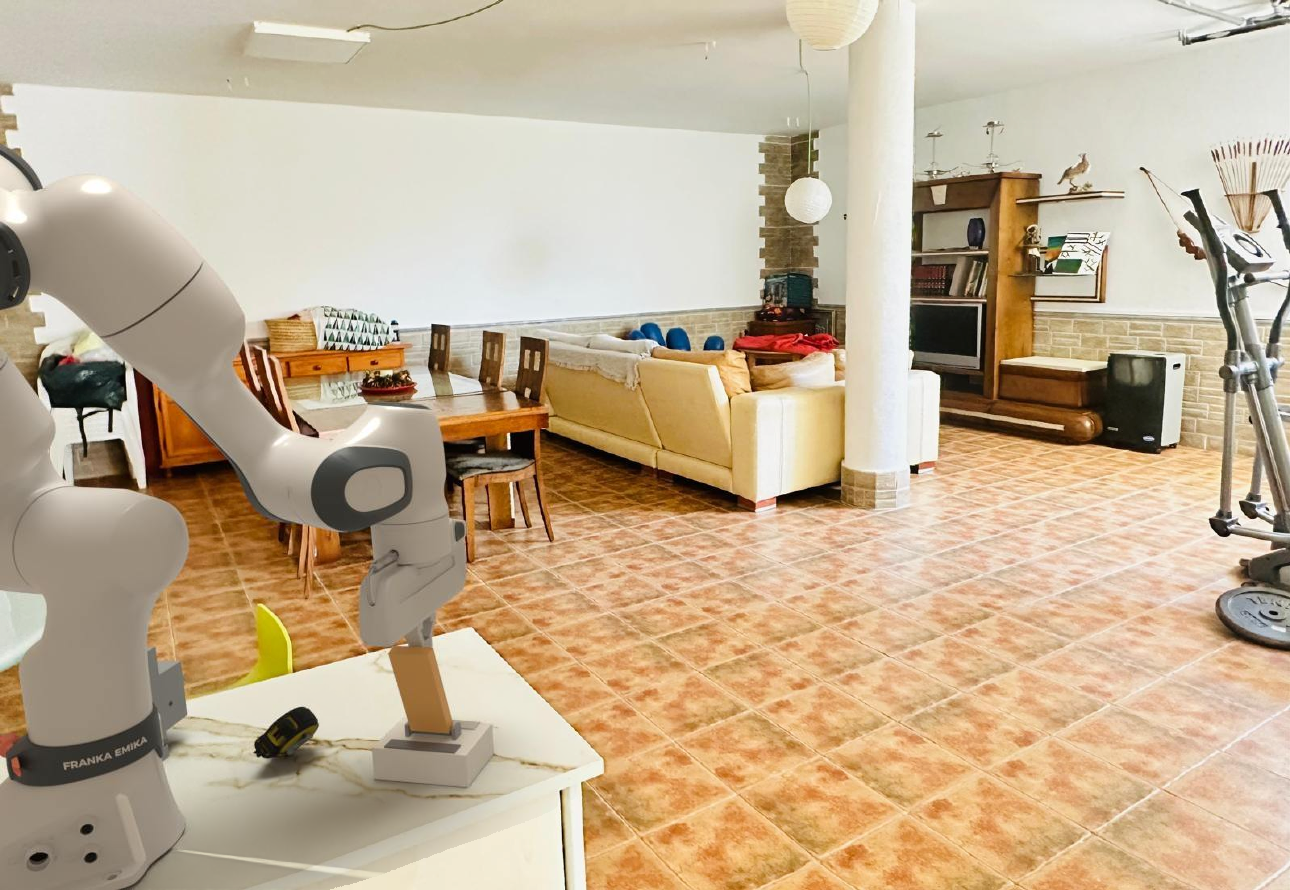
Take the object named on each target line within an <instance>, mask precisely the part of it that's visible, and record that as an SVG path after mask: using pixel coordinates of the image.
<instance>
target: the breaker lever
mask: <svg viewBox="0 0 1290 890" xmlns="http://www.w3.org/2000/svg"><path fill="white" fill-rule="evenodd" d="M435 653H436V652H435V650H434V647H432V648H430V647H411V646H408V645H407V646H406V645H392V646H391V648H390V650H389V651H388V653H387V656H388V659H389V661H390V666H391V668H392V671H393V675H394V678H395V682H396V686H397V688H398V692H399V695H400V698H401V702H402V706H403V709H404V711H405V712H404V713H405V717H407V719H408V723H409V726H410V730H411V731H412V732H413V733H418V734H431V735H444V736H452V734H451V728H452V727H453V721H452V720H453V717H452V714H451V710H450V706H449V702H448V699H447V695H446V692H445V688H444V687H445V686H444V684H443V681H442V676H441V673H440V668H439V665H438V661H437V659H436V654H435Z"/></svg>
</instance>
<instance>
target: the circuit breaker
mask: <svg viewBox="0 0 1290 890" xmlns="http://www.w3.org/2000/svg"><path fill="white" fill-rule="evenodd" d="M147 656H148V668H149V679H150V688H151V696H152V702H154V704H155V707H157V709H158V713H159V715H160V720H161V727H162V734H163V744H164V746H163V756H162V761H163V762H164V761H166V760H167V759H168V758H169V757H170V751H169V750H170V749H169V744H166V743H165V740H168V734H167V731H168V730H169V729H171V728H172V727H174V726H175V725H176V724H178V723H179V722H180V721H181V720H183V719H185V718H186V717H187V715H188V709H187V700H186V691H185V684H184V683H185V682H186V679H185V678H186V677H185V675H184V674H183V668H182V667H183V666H182V661H180V660H179V661H178V660H158V656H157V649H156V646H147Z"/></svg>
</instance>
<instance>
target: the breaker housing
mask: <svg viewBox="0 0 1290 890" xmlns="http://www.w3.org/2000/svg"><path fill="white" fill-rule="evenodd" d="M452 721H453V727H452V728H451V734H452V736H444V735H431V734H418V733H413V732H412V731H411V730H410V726H409V723H408V719H407V716H403V717H401V719H400V720H399V721H398V722H397V723H395V725H394V726H393V727H392V728H391V729H389V730H388V732H386V733H385V734H384V736H382V738H381V739H379V740H378V741H377V742H376V743H375V744H374V745H373V746H372V747H371V755H372V766H373V776H374V777H373V778H374V780H380V781H390V782H391V781H393V782H405V783H412V784H413V783H415V784H425V785H426V784H427V785H435V786H436V785H437V786H446V787H447V786H448V787H458V788H459V787H460V788H469V787H470V786H471V785H472V783H473V782H474V781H475V779H476V778H477V776H478V775H479V774H480V773H481V771H482V770H483V768H484V767H486V764H487V763H488V762H489V761H490V759H492V757H493V755H494V754H495V750H494V749H495V748H494V735H493V734H494V732H493V723H490V722H480V721H474V720H458V719H452Z"/></svg>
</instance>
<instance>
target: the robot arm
mask: <svg viewBox="0 0 1290 890" xmlns="http://www.w3.org/2000/svg"><path fill="white" fill-rule="evenodd" d="M29 291H34V292H39V293H43V294H45V295H48V296H51V297H52V298H54V299H56V300H57V301H59V302H60V303H61V304H63V305H64V306H65V307H66V308H67V309H69V310H70V311H71V312H72V313H73V314H75V315H76V317H78V318H79V319H80V320H81V321H82V322H83V323H84V324H85V325H86V326H87V328H89V329H90V330H91V331H92V332H93V333H94V334H96V335H97V336H98V337H99V338H100V340H102V341H103V342H104V343H105V344H106V345H107V346H108V347H109V348H110V349H112V351H114V352H115V353H116V354H117V355H118V356H120V357H121V359H123V360H124V361H125V362H127V364H129V365H130V366H131V367H132V368H133V369H135V370H136V371H137V372H138V373H140V374H141V375H142V376H144V377H145V378H146V379H147V380H148V381H150V382H152V384H154V385H155V386H156V388H158V389H159V390H160V391H162V392H163V393H164V394H165V395H167V397H168V398H169V399H171V401H173V403H174V404H175V405H176V406H177V408H179V410H180V411H182V413H184V415H186V417H187V418H188V419H189V420H190V421H191V422H192V423H193V424H194V425H195V427H197V428H198V429H199V430H200V431H201V432H202V434H204V436H205V437H206V438H207V439H208V440H209V441H210V442H211V443H212V444H213V445H214V446H215V447H216V448H217V449H218V450H219V451H220V452H221V454H222V455H224V456H225V458H226V460H228V462H229V463H230V464H231V466H232V468H233V469H234V471H235V474H236V475H237V477H238V480H239V483H240V486H241V488H242V490H243V493H244V495H245V497H246V498H247V501H248V502H249V504H250V505H251V506H252V507H253V509H254V510H255V511H256V512H257V513H259V514H260V515H262V516H263V517H264V518H267V519H269V520H271V521H274V522H278V523H279V522H280V523H290V524H299V525H304V526H308V527H312V528H316V529H323V530H328V531H332V532H337V533H351V532H352V533H353V532H359V531H361V530H364V529H367V528H369V527H370V533H371V534H370V536H371V545H372V557H373V560H374V561H372V562H371V563H370V564H369V570H368V572H367V574H366V575H365V576H364V578H363V580H361V583H360V587H359V593H358V594H359V596H358V602H359V603H358V622H359V624H358V628H359V637H360V639H361V641H362V642H363V644H364V645H366V646H370V647H385V648H386V647H393V646H395V644H397V643H398V642H399V641H400V640H402V639H404V640H405V641H406V643H407V646H411V647H430V648H434V646H433V645H434V644H433V633H434V628H435V625H436V620H437V613H436V612H437V611H438V610H440V609H441V608H442V607H443V606H444V605H446V604H447V603H449V601H451V600H452V599H454V597H456V596H457V595H459V594H460V593H461V592H462V591H463V590H464V588H465V585H466V581H467V554H466V553H467V551H466V544H465V541H464V538H466V536H467V534H468V533H467V531H468V529H467V522H466V520H464V519H457V518H451V517H450V511H449V510H450V509H449V508H450V507H449V504H448V503H447V501H446V497H445V483H446V478H447V468H446V466H447V465H446V456H445V447H444V441H443V436H442V431H441V427H440V423H439V420H438V417H437V416H436V414H435V412H434V411H433V409H431V408H430V407H428V406H426V405H423V404H419V403H409V402H395V401H394V402H393V401H382V400H381V401H374V402H372V403H368V404H367V406H366V408H365V410H364V412H363V413H362V414H361V415H360V416H359V417H358V418H357V419H356V420H355V421H354V422H353V423H352V424H350V425H349V426H348V427H347V428H345V429H344V430H341V432H339V433H336V434H335V435H333V436H331V437H329V439H328V438H322V437H321V438H320V437H313V436H308V435H305V434H301V433H299V432H295V431H293V430H291V429H288V428H287V427H284V426H283V425H282V424H280V423H279V422H278V421H277V420H276V419H275V418H274V417H273V416H272V414H271V413H270V412H269V411H268V410H267V408H265V407H264V405H263V404H262V403H261V402H260V401H259V399H258V397H256V395H254V394H253V392H252V391H251V389H249V387H248V386H246V384H245V383H244V382H243V381H242V380H241V377H239V376H238V374H237V372H236V370H235V368H234V364H233V363H234V360H235V359H236V358H237V357H238V355H239V353H240V351H241V350H242V347H243V343H244V340H245V336H246V316H245V313H244V311H243V309H242V308H241V306H240V304H239V302H238V300H237V299H236V298H235V296H234V294H233V292H232V291H231V290H230V288H229V287H228V286H227V284H226V283H225V282H224V280H223V279H222V278H221V277H220V276H219V274H218V273H217V272H216V271H215V269H213V267H211V265H210V264H209V263H208V262H207V261H206V260H205V259H204V258H203V257H202V256H201V254H200V253H199V252H198V251H197V250H196V249H195V248H194V247H193V246H192V245H191V244H190V243H189V241H187V240H186V239H185V238H184V237H183V235H181V234H180V233H179V231H177V230H176V228H175V227H173V226H172V225H171V224H170V223H169V222H167V221H166V220H165V218H164V217H162V216H161V215H160V214H158V213H157V212H156V211H155V210H154V209H153V208H152V207H151V206H149V205H148V204H146V203H145V202H144V201H143V200H142V199H140V198H139V197H138V196H137V195H135V194H134V193H133V192H132V191H130V190H129V189H127V188H126V187H125V186H124V185H123V184H121V183H119V182H118V181H116V180H114V179H112V178H110V177H108V176H105V175H101V174H95V173H94V174H92V173H91V174H90V173H88V174H77V175H72V176H68V177H63V178H61V179H58V180H56V181H54V182H52V183H50V184H48V185H46V186H45V187H43V185H42V182H41V181H40V178H39V177H38V175H37V172H36V171H34V169H33V167H32V166H31V165H30V164H29V163H28V162H27V161H26V160H25V158H23V157H22V156H21V155H19V154H18V153H17V152H16V151H14V150H12V149H11V148H9V147H8V146H6V145H4V144H2V143H0V311H2V310H3V311H4V310H6V309H10V308H14V307H15V308H16V307H17V306H19V305H21V304H22V303H23V302H25V299H26V297H27V295H28V292H29ZM14 295H15V296H14ZM55 437H56V422H55V419H54V417H53V415H52V414H51V412H50V411H49V410H48V408H47V407H46V405H45V404H44V403H43V401H42V400H41V398H40V397H39V396H38V394H37V393H36V391H35V390H34V389H33V387H32V386H31V384H30V383H29V382H28V380H27V379H26V377H24V375H23V374H22V372H21V371H20V370H19V368H18V366H16V364H15V363H14V361H13V360H12V358H11V357H10V356H9V354H8V353H7V352H6V351H5V349H4V348H3V347H2V346H1V344H0V591H3V592H11V593H20V594H21V593H23V594H33V595H42V596H43V598H44V600H45V604H46V606H45V607H46V613H45V614H46V616H45V624H44V626H43V627H44V628H43V632H42V635H41V638H40V639H39V640H37V641H36V642H35V643H34V644H33V645H32V646H30V647H29V648H28V649H27V650H26V651H25V653H24V654H23V656H22V657H21V659H20V662H19V664H18V665H19V666H18V676H19V682H20V689H21V691H20V692H21V696H22V701H23V702H22V703H23V709H24V715H25V722H26V729H27V732H26V733H25V734H24V735H22V736H21V737H20V735H19V734H18V735H17V733H14V732H9V733H5V734H2V736H0V757H2V758H4V759H5V761H6V762H5V763H6V770H7V773H8V777H6V778H5V779H4V780H3V781H2V782H1V783H0V890H121V889H124V888H127V887H130V886H132V885H134V884H136V883H137V882H138V881H139V880H141V878H143V876H144V874H146V872H147V870H148V869H149V867H150V866H151V864H152V863H153V862H155V861H156V860H157V859H159V858H160V857H161V856H163V855H164V854H165V853H166V852H168V851H169V850H170V849H171V848H172V847H173V846H174V845H175V844H176V843H177V842H178V841H179V839H180V838H181V836H182V835H183V833H184V830H185V828H186V819H185V817H184V815H183V813H182V811H181V810H180V808H179V806H178V803H177V802H176V799H175V797H174V795H173V792H172V789H171V786H170V783H169V780H168V777H167V773H166V770H165V766H164V761H162V756H163V746H164V744H163V734H162V727H161V720H160V715H159V713H158V709H157V707H155V704H154V702H152V696H151V688H150V679H149V668H148V656H147V647H148V643H147V642H148V632H149V625H150V621H151V615H152V614H153V610H154V607H155V605H156V602H157V600H158V598H159V596H160V595H161V594H162V592H163V591H164V590H165V589H166V588H168V587H169V586H170V585H171V584H172V583H173V582H174V581H175V580H176V578H177V577H178V576H179V574H180V573H181V571H182V570H183V569H184V568H183V567H184V566H185V563H186V560H187V558H188V554H189V550H190V549H189V548H190V539H189V538H190V536H189V530H188V526H187V524H186V521H185V518H184V517H183V515H182V513H181V512H180V511H179V510H178V509H177V507H175V506H174V505H173V504H171V503H170V502H168V501H166V500H163V499H160V498H157V497H155V496H152V495H151V496H150V495H149V494H145V493H142V492H137V491H135V490H131V489H126V488H111V487H91V486H90V487H87V486H86V487H85V486H84V487H83V486H75V485H74V484H72V483H70V482H68V481H66V479H64V478H63V477H62V476H61V475H60V474H59V473H58V472H57V470H56V469H55V467H54V465H53V463H52V460H51V457H50V453H49V450H50V448H51V446H52V444H53V442H54V440H55Z"/></svg>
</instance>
